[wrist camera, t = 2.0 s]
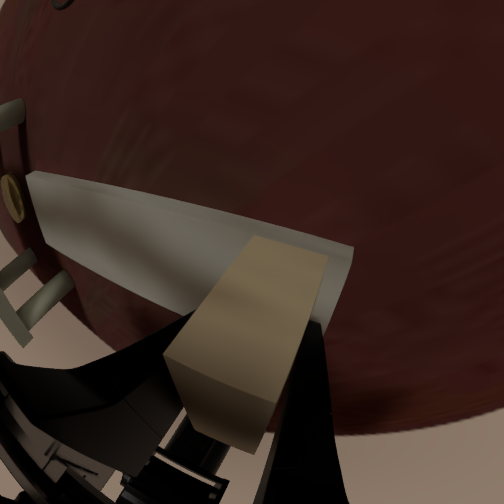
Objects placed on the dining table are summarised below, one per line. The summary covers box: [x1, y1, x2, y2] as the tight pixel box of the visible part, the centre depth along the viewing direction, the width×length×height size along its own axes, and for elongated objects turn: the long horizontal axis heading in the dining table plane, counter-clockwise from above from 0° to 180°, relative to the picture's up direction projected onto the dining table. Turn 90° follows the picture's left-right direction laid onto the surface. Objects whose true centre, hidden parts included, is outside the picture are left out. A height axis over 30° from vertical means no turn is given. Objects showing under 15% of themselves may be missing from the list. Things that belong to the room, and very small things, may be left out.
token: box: [1, 172, 28, 223], centre depth 18 cm, size 5×5×1 cm
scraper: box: [26, 171, 354, 455], centre depth 11 cm, size 6×21×6 cm, turn 87°
